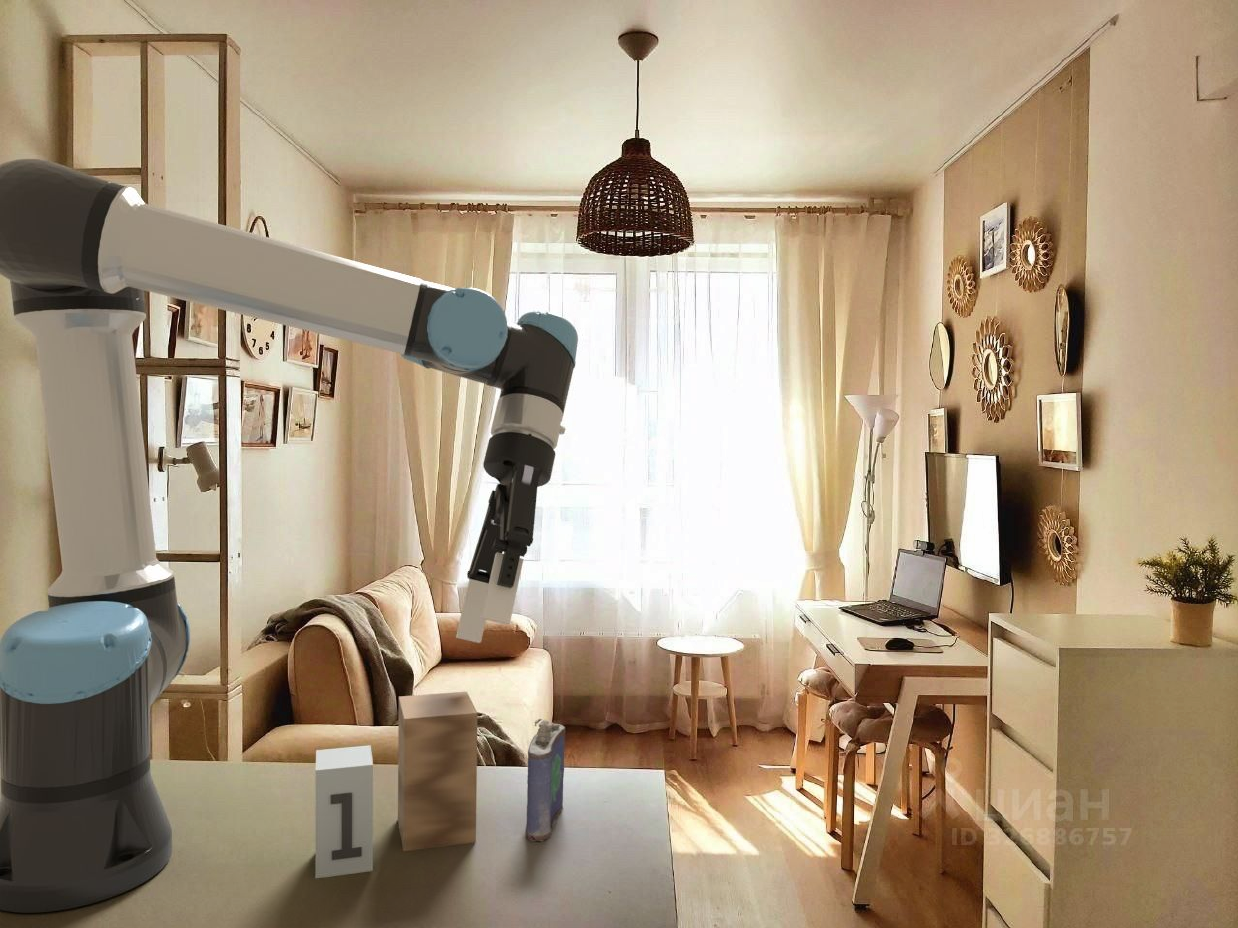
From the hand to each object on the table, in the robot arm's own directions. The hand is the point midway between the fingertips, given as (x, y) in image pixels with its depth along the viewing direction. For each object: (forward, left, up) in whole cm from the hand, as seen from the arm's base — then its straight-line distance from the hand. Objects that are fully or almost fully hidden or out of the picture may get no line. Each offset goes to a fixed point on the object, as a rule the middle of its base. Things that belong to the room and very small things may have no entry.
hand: (480, 631), depth 92 cm
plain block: (-4, -1, -20) cm, 21 cm away
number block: (-13, -5, -20) cm, 25 cm away
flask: (+7, -2, -20) cm, 21 cm away
